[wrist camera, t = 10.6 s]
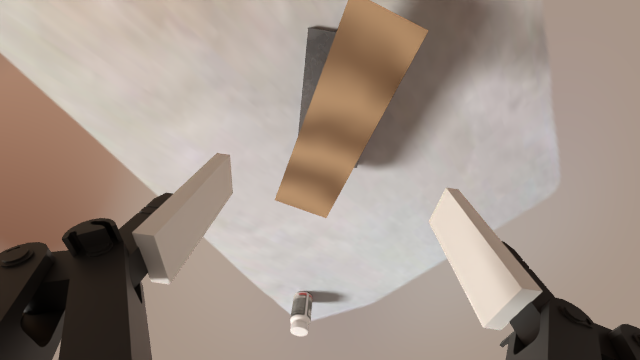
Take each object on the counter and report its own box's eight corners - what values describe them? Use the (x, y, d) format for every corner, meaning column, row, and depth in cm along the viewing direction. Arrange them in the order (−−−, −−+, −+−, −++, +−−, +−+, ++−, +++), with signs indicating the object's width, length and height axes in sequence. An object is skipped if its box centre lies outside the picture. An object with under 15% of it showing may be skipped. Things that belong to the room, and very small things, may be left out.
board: (348, 0, 22) (351, -9, 18) (412, 32, 23) (428, 30, 19) (282, 181, 33) (274, 199, 29) (327, 197, 34) (326, 217, 30)
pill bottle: (290, 297, 59) (284, 332, 52) (299, 288, 57) (294, 324, 50) (306, 304, 60) (302, 339, 53) (316, 295, 58) (313, 331, 51)
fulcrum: (309, 28, 29) (302, 24, 23) (387, 40, 29) (400, 40, 23) (296, 156, 38) (289, 177, 32) (356, 165, 38) (359, 187, 32)
